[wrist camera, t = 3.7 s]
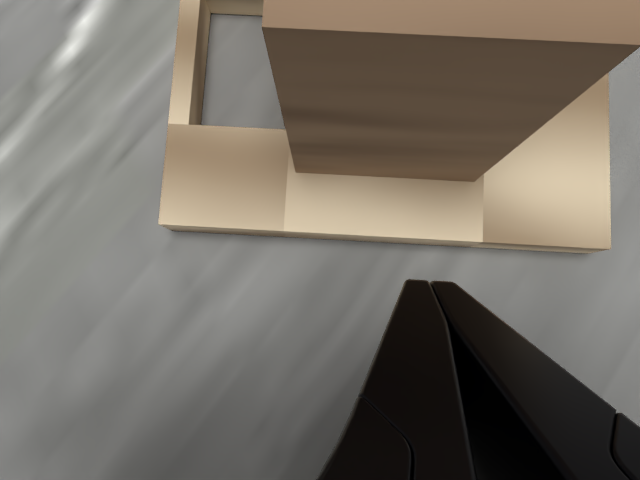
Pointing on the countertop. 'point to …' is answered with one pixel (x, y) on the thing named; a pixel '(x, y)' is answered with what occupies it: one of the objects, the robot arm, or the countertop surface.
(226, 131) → the trap lane
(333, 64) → the walnut block
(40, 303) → the countertop surface
